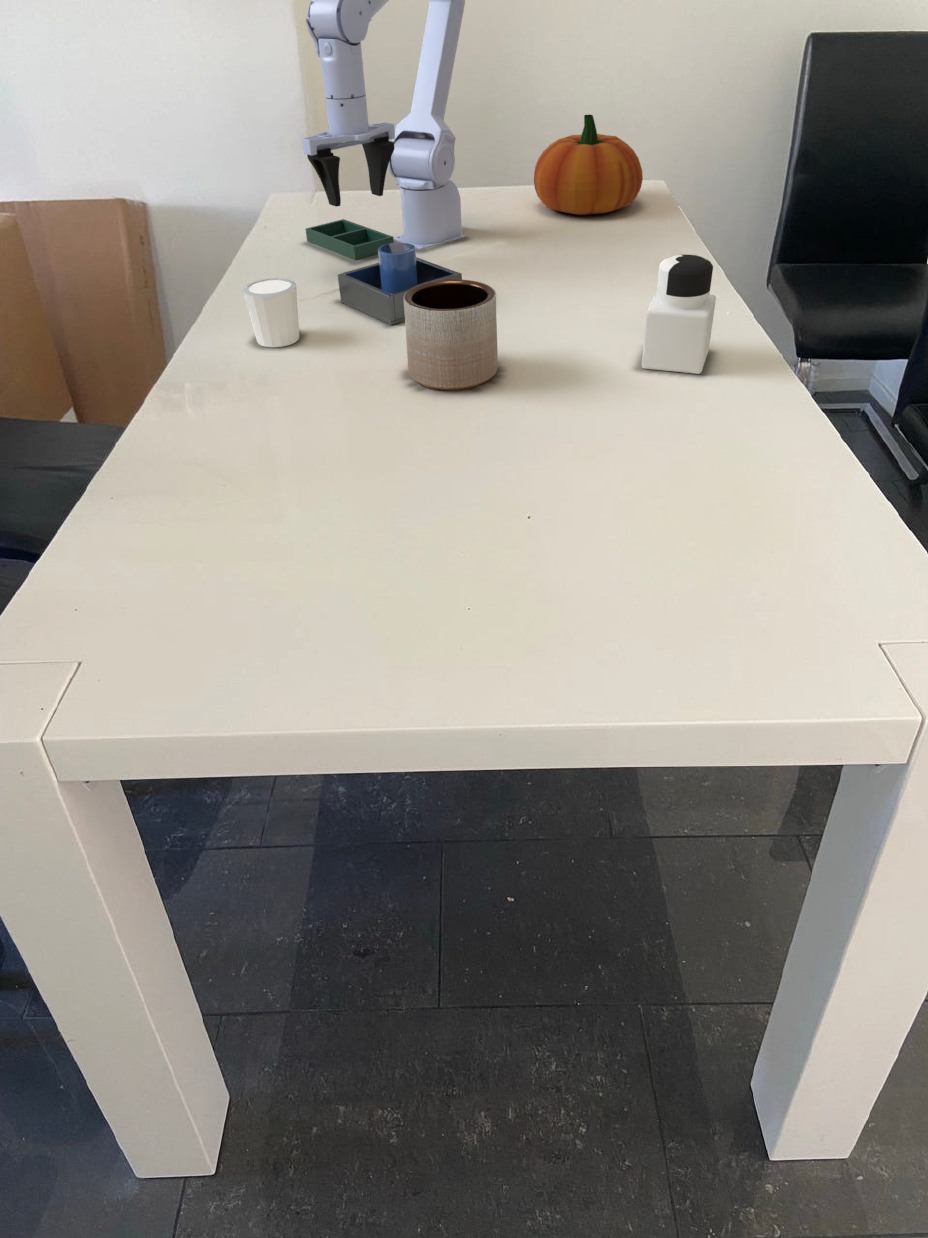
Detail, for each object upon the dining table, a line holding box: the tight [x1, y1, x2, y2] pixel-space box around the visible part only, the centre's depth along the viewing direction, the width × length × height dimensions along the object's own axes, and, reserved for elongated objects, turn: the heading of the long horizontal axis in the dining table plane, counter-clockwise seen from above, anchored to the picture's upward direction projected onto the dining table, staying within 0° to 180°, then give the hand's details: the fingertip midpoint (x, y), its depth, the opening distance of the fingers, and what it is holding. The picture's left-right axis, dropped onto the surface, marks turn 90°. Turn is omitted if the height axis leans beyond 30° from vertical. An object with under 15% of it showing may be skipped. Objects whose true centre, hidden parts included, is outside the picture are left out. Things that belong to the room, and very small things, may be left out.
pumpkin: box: [533, 114, 644, 216], centre depth 159 cm, size 19×19×15 cm
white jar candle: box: [242, 277, 300, 348], centre depth 118 cm, size 7×7×7 cm
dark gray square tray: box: [337, 256, 463, 326], centre depth 128 cm, size 13×13×4 cm
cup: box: [377, 242, 418, 293], centre depth 126 cm, size 5×5×7 cm
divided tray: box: [305, 218, 395, 261], centre depth 149 cm, size 8×15×2 cm, turn 39°
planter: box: [404, 279, 499, 391], centre depth 106 cm, size 11×11×10 cm
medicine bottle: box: [641, 254, 717, 375], centre depth 106 cm, size 7×7×12 cm
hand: (356, 199), depth 134 cm, fingers open, 7 cm apart
